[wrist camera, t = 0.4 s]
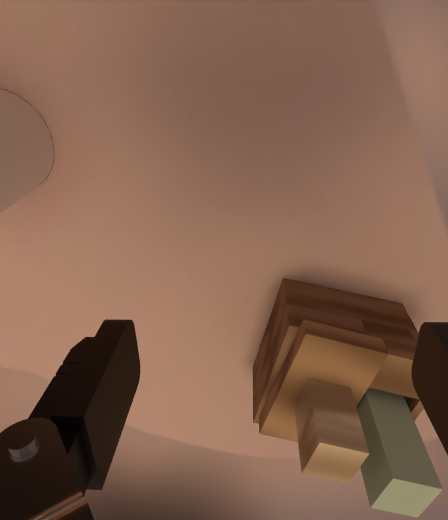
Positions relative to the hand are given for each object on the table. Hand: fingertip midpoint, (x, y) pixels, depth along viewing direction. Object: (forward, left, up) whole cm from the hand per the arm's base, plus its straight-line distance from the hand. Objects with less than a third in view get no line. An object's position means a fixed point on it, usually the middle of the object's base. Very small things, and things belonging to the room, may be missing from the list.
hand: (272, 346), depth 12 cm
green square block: (+14, +12, -16) cm, 24 cm away
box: (+14, +9, -19) cm, 25 cm away
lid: (+13, +10, -13) cm, 21 cm away
